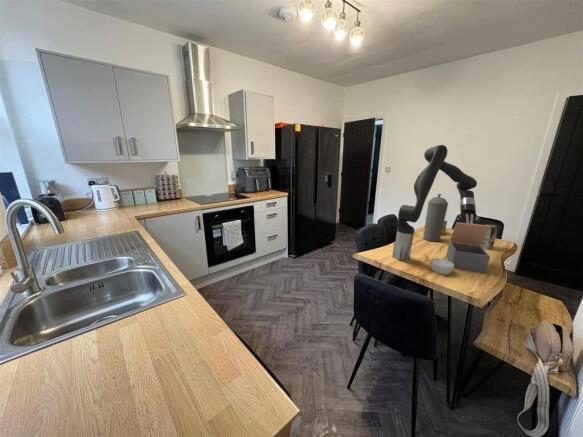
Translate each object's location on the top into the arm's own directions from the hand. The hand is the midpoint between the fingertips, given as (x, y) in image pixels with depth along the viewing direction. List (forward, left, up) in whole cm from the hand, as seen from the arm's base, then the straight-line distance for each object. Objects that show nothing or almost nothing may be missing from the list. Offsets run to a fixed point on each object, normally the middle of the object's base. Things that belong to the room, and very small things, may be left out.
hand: (469, 231), depth 139 cm
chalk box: (+29, +44, -20) cm, 57 cm away
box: (-3, -4, -19) cm, 20 cm away
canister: (+13, +34, -19) cm, 42 cm away
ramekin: (-24, -6, -20) cm, 31 cm away
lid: (0, 0, -2) cm, 2 cm away
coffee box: (+37, +11, -20) cm, 43 cm away
